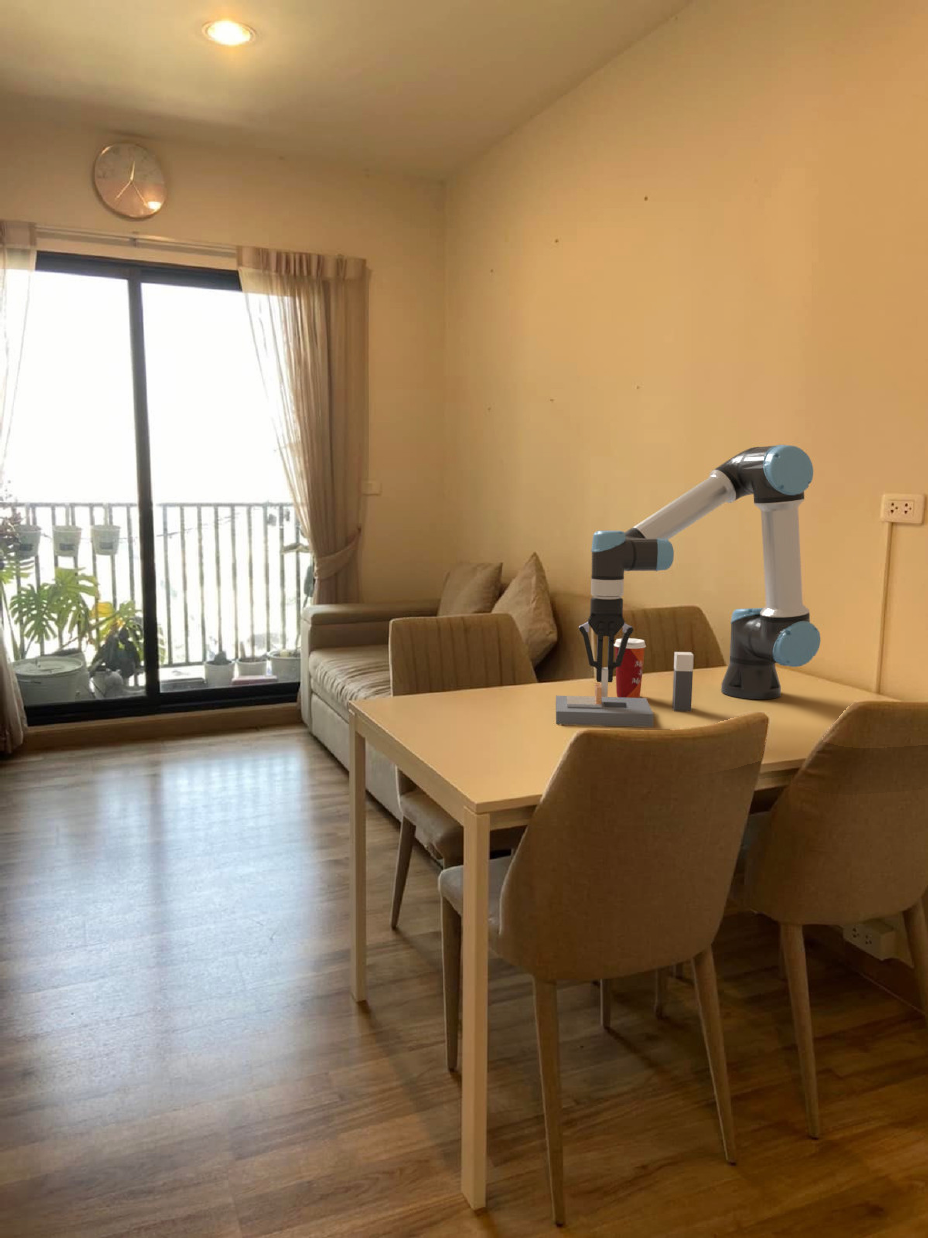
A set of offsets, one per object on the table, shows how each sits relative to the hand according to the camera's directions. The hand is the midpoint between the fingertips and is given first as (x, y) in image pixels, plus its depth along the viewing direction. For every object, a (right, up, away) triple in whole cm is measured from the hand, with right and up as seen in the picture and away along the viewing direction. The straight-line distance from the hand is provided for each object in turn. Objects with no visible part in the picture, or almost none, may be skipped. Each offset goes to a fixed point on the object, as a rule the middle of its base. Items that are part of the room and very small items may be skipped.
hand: (603, 695), depth 211 cm
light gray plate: (-5, -2, +1) cm, 5 cm away
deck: (0, -5, +1) cm, 5 cm away
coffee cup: (+10, -2, +22) cm, 24 cm away
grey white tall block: (+21, -4, +9) cm, 23 cm away
